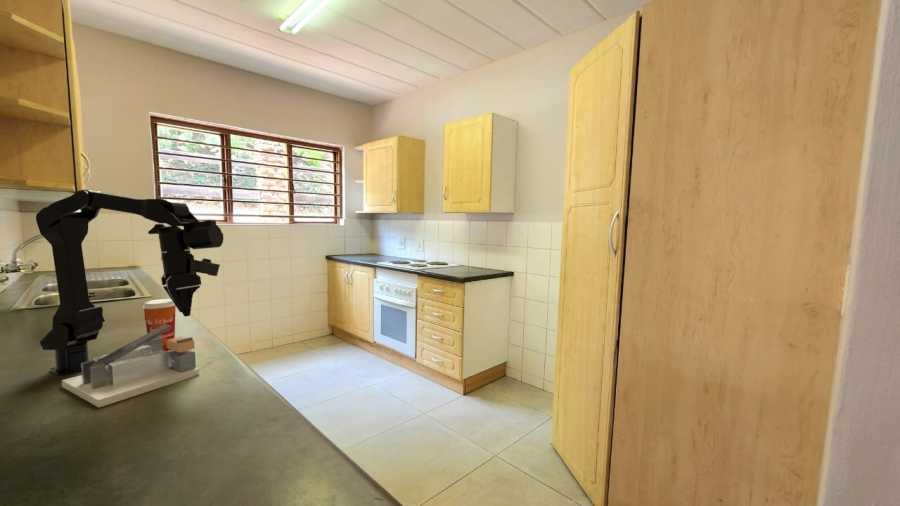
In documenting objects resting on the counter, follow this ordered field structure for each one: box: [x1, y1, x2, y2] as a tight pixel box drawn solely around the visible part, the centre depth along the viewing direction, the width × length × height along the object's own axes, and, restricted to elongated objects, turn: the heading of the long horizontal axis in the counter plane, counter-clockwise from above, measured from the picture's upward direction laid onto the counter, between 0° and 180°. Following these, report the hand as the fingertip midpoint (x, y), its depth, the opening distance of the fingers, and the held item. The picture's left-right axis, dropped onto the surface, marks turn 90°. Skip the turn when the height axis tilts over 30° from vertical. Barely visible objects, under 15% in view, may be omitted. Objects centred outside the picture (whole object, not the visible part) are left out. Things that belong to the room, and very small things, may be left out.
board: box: [61, 367, 200, 408], centre depth 82 cm, size 19×18×2 cm
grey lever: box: [90, 324, 172, 367], centre depth 82 cm, size 3×15×1 cm, turn 152°
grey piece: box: [80, 337, 197, 389], centre depth 83 cm, size 18×16×5 cm
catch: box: [167, 336, 195, 352], centre depth 85 cm, size 6×3×3 cm, turn 62°
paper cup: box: [142, 298, 177, 351], centre depth 103 cm, size 8×8×14 cm
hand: (184, 313), depth 89 cm, fingers open, 9 cm apart
